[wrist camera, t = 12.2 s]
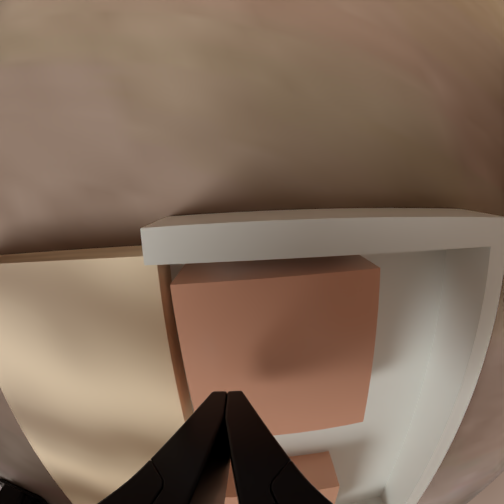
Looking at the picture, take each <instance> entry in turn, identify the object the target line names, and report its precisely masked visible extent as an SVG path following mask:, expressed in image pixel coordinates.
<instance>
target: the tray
mask: <svg viewBox="0 0 504 504" xmlns="http://www.w3.org/2000/svg"><path fill="white" fill-rule="evenodd" d="M140 231H141V241H142V250H143V259H144V265H166V264H170V269H171V278H172V281H173V280H174V279H175V277H176V276H177V274H178V273H179V272H180V270H181V269H182V268H183V266H184V265H185V264H189V263H210V262H231V261H251V260H270V259H290V258H308V257H327V256H345V255H361V256H362V257H364V258H365V259H367V260H369V261H370V262H372V263H373V264H375V265H376V266H378V267H380V288H379V304H378V317H377V328H376V338H375V348H374V356H373V364H372V371H371V378H370V385H369V391H368V397H367V403H366V409H365V414H364V420H363V422H359V423H354V424H349V425H344V426H339V427H333V428H327V429H321V430H315V431H308V432H300V433H292V434H283V435H273V436H274V437H275V439H276V440H277V441H278V443H279V444H280V446H281V447H282V448H283V450H284V451H285V452H286V454H287V455H288V456H289V457H290V456H299V455H307V454H314V453H321V452H327V451H329V453H330V456H331V459H332V462H333V466H334V469H335V472H336V475H337V479H338V482H339V485H340V487H339V491H338V494H337V498H336V501H335V504H417V502H418V501H419V499H420V498H421V496H422V495H423V493H424V491H425V490H426V488H427V487H428V485H429V483H430V482H431V480H432V478H433V477H434V475H435V473H436V471H437V470H438V468H439V466H440V464H441V462H442V460H443V459H444V457H445V455H446V453H447V451H448V449H449V447H450V445H451V443H452V441H453V439H454V437H455V435H456V432H457V430H458V428H459V426H460V424H461V421H462V419H463V417H464V414H465V412H466V410H467V407H468V405H469V402H470V400H471V397H472V394H473V392H474V389H475V386H476V383H477V381H478V378H479V375H480V372H481V369H482V366H483V362H484V359H485V356H486V352H487V349H488V345H489V342H490V338H491V334H492V330H493V326H494V322H495V318H496V313H497V308H498V303H499V298H500V293H501V287H502V281H503V274H504V217H503V216H498V215H493V214H488V213H482V212H476V211H470V210H465V209H453V208H335V209H297V210H270V211H248V212H228V213H210V214H194V215H180V216H168V217H165V218H163V219H161V220H158V221H156V222H154V223H151V224H149V225H147V226H144V227H142V228H140ZM184 368H185V367H184ZM185 373H186V372H185ZM186 379H187V377H186ZM187 384H188V382H187ZM188 390H189V386H188ZM189 395H190V391H189ZM190 400H191V395H190ZM191 405H192V410H193V413H194V408H193V404H192V400H191Z"/></svg>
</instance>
